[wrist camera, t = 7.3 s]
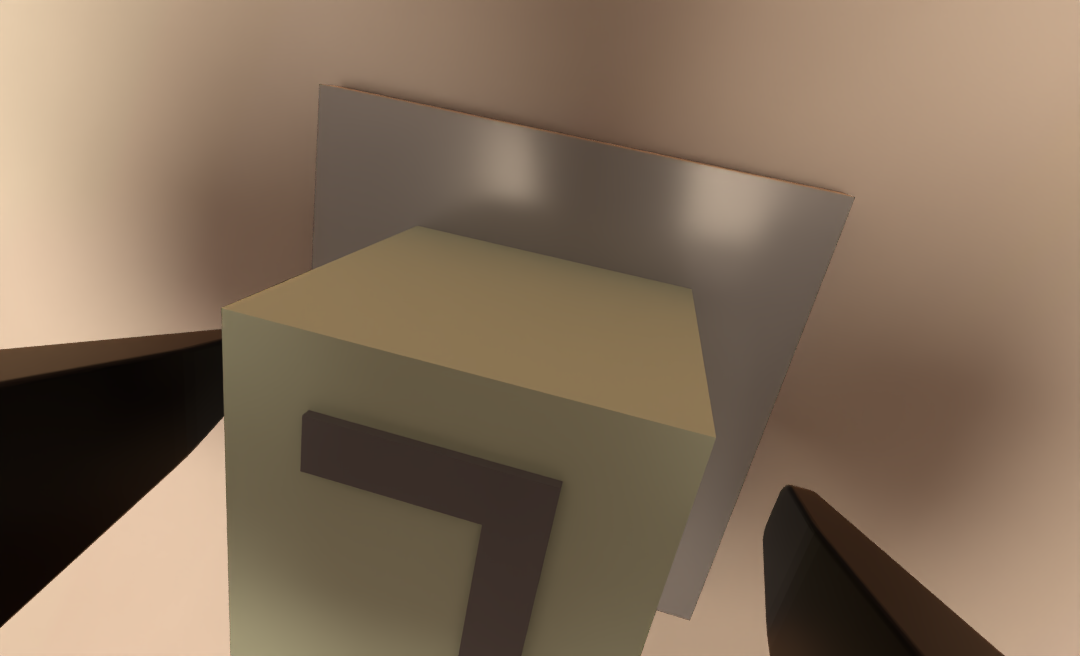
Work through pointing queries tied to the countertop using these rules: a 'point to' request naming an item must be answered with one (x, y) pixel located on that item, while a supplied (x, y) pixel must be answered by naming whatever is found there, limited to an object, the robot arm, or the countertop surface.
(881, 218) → the countertop surface
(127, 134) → the countertop surface
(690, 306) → the letter cube
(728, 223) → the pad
